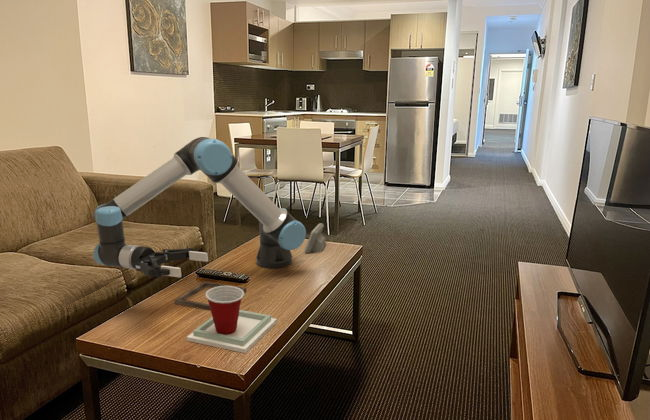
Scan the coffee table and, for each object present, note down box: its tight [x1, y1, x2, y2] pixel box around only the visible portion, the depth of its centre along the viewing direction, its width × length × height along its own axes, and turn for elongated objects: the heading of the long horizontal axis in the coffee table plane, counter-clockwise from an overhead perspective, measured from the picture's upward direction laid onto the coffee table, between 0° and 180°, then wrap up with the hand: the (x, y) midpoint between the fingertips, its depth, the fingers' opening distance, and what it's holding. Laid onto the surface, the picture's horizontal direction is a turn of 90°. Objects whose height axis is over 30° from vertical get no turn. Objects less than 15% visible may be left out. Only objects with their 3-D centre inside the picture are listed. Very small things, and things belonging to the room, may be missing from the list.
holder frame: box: [174, 280, 247, 311], centre depth 159 cm, size 17×17×2 cm
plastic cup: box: [205, 285, 245, 335], centre depth 133 cm, size 11×11×12 cm
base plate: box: [186, 309, 278, 354], centre depth 136 cm, size 19×19×3 cm
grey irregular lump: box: [304, 222, 326, 254], centre depth 210 cm, size 16×9×11 cm, turn 155°
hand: (194, 264), depth 139 cm, fingers open, 13 cm apart
